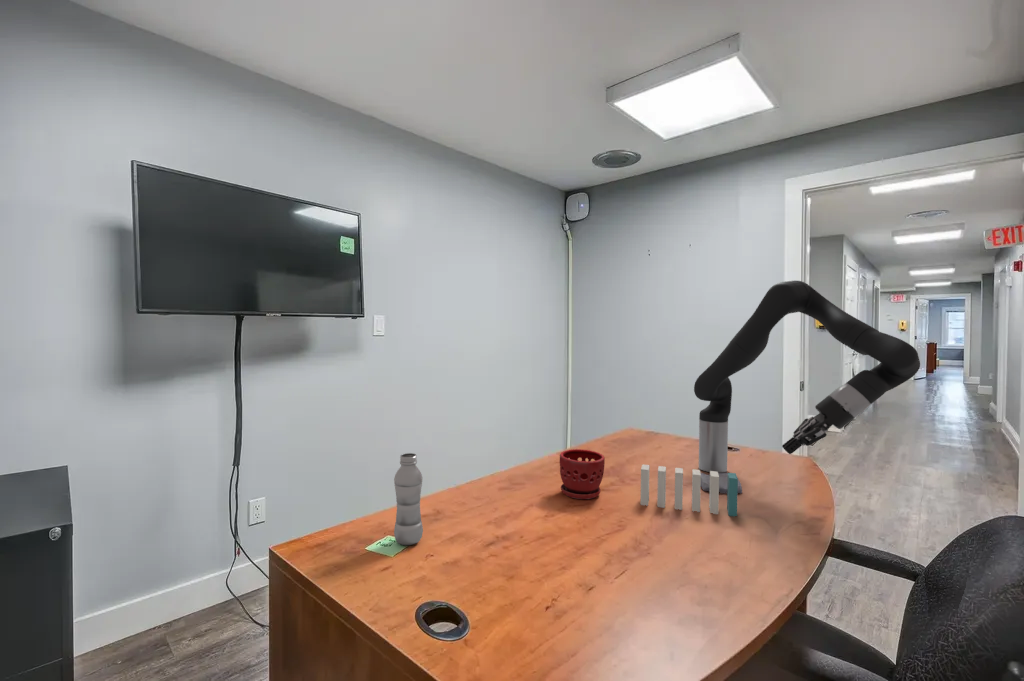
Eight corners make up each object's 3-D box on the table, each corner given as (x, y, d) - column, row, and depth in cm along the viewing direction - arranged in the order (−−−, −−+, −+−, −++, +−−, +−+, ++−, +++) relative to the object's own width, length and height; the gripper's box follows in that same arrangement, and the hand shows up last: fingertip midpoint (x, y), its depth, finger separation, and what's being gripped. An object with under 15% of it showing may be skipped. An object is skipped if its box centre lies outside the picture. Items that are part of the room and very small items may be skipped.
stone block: (745, 500, 144) (733, 483, 154) (746, 486, 143) (733, 469, 153) (703, 500, 145) (694, 483, 155) (704, 486, 144) (695, 469, 154)
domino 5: (710, 513, 129) (710, 476, 129) (709, 506, 134) (709, 470, 134) (718, 514, 128) (719, 476, 128) (717, 507, 133) (717, 471, 133)
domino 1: (640, 504, 135) (640, 469, 135) (641, 498, 140) (642, 464, 139) (647, 505, 134) (648, 469, 134) (649, 499, 139) (649, 465, 139)
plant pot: (553, 498, 139) (554, 457, 139) (566, 485, 152) (566, 447, 151) (598, 505, 134) (599, 462, 134) (608, 490, 147) (608, 451, 146)
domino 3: (674, 509, 132) (675, 472, 132) (674, 502, 137) (675, 467, 137) (682, 510, 131) (682, 473, 131) (682, 503, 136) (682, 468, 136)
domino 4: (692, 511, 131) (692, 474, 130) (691, 504, 135) (692, 469, 135) (700, 512, 130) (700, 475, 130) (699, 505, 135) (700, 469, 134)
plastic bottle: (398, 551, 106) (398, 460, 106) (390, 539, 112) (390, 453, 112) (426, 545, 109) (426, 457, 109) (418, 533, 115) (418, 450, 115)
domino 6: (728, 515, 128) (729, 478, 127) (727, 509, 132) (727, 472, 132) (737, 516, 127) (737, 478, 127) (735, 509, 132) (735, 473, 131)
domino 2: (657, 506, 134) (657, 470, 133) (658, 500, 138) (658, 466, 138) (664, 507, 133) (665, 471, 133) (665, 501, 138) (666, 466, 137)
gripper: (822, 391, 128) (769, 433, 132) (838, 398, 115) (779, 445, 119) (845, 412, 126) (791, 455, 131) (864, 422, 113) (803, 468, 118)
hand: (785, 450), depth 125 cm, fingers closed
